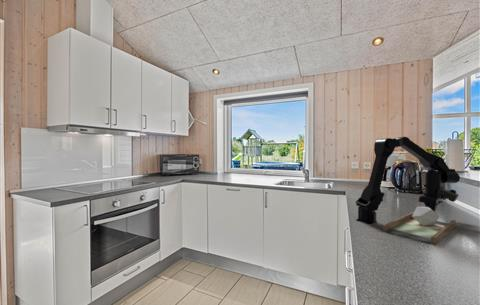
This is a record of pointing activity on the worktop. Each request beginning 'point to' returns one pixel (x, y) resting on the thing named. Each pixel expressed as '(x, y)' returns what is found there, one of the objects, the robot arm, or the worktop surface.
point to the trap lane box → (418, 229)
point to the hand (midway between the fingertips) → (432, 215)
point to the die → (425, 216)
